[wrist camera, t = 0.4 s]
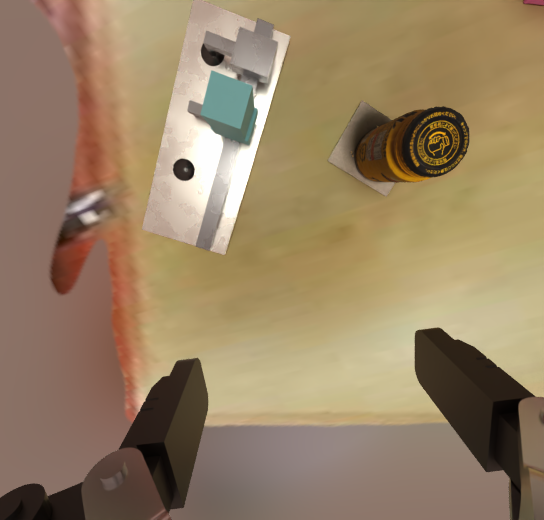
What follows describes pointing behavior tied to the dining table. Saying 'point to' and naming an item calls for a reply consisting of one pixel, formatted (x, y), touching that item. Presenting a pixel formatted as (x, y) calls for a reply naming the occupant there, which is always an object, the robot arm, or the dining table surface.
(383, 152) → the condiment
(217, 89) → the leg
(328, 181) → the dining table surface
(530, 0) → the gum box
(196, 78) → the hole plate
